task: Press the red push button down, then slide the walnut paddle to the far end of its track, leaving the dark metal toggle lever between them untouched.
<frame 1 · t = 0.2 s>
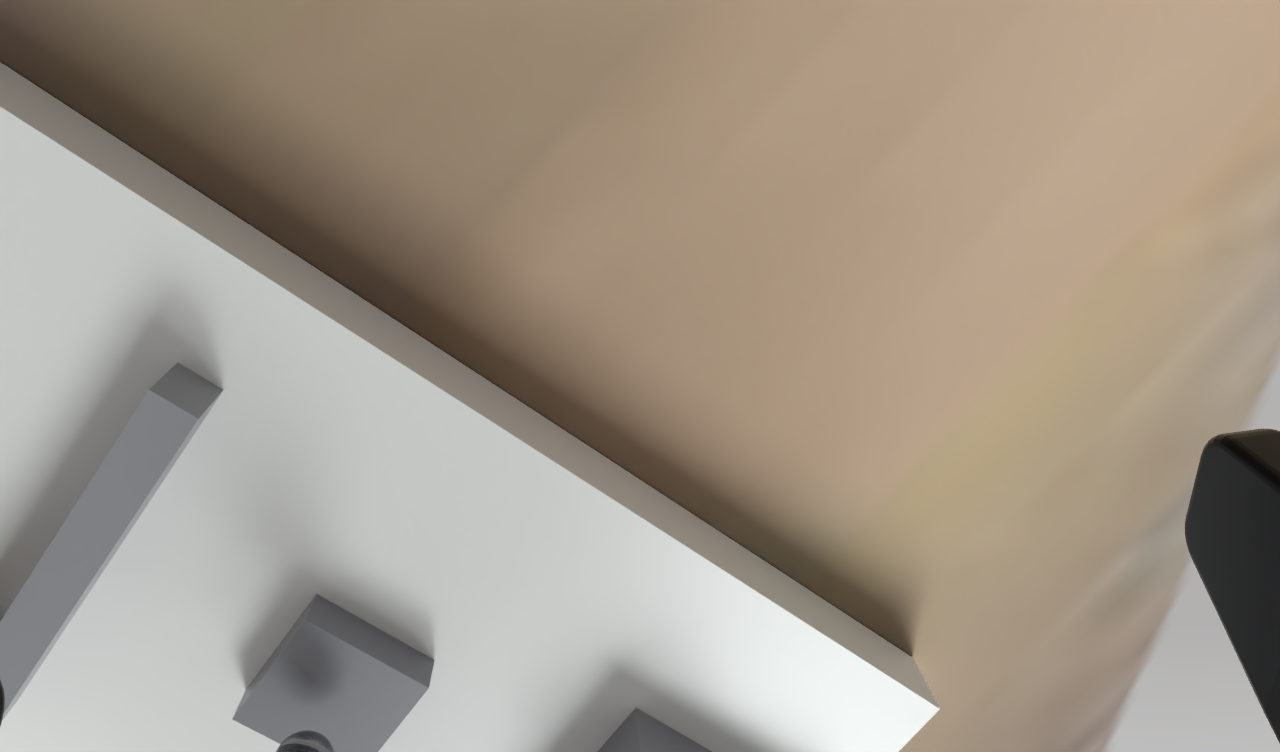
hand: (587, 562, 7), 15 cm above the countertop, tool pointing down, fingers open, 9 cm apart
control panel: (339, 613, 25), on the countertop
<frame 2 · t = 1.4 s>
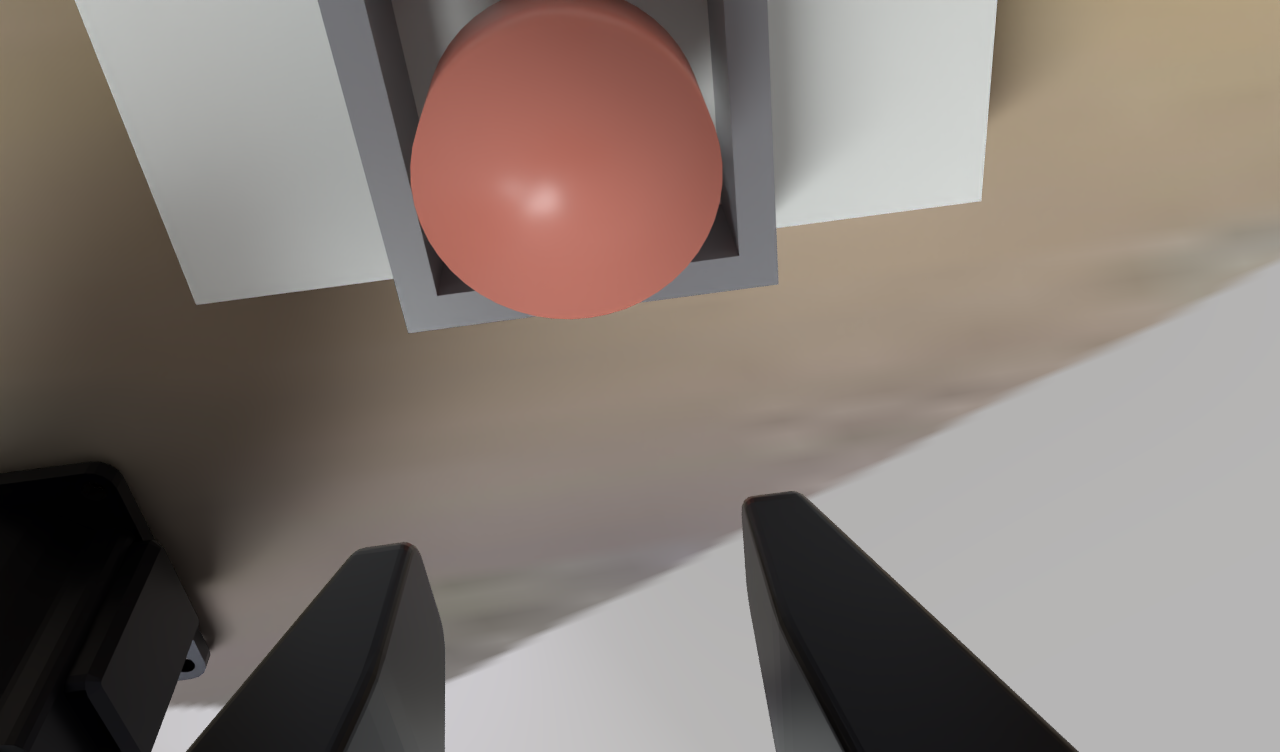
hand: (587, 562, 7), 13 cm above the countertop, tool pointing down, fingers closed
push button: (567, 155, 14), point 5 cm above the countertop, slide at 0.0 cm
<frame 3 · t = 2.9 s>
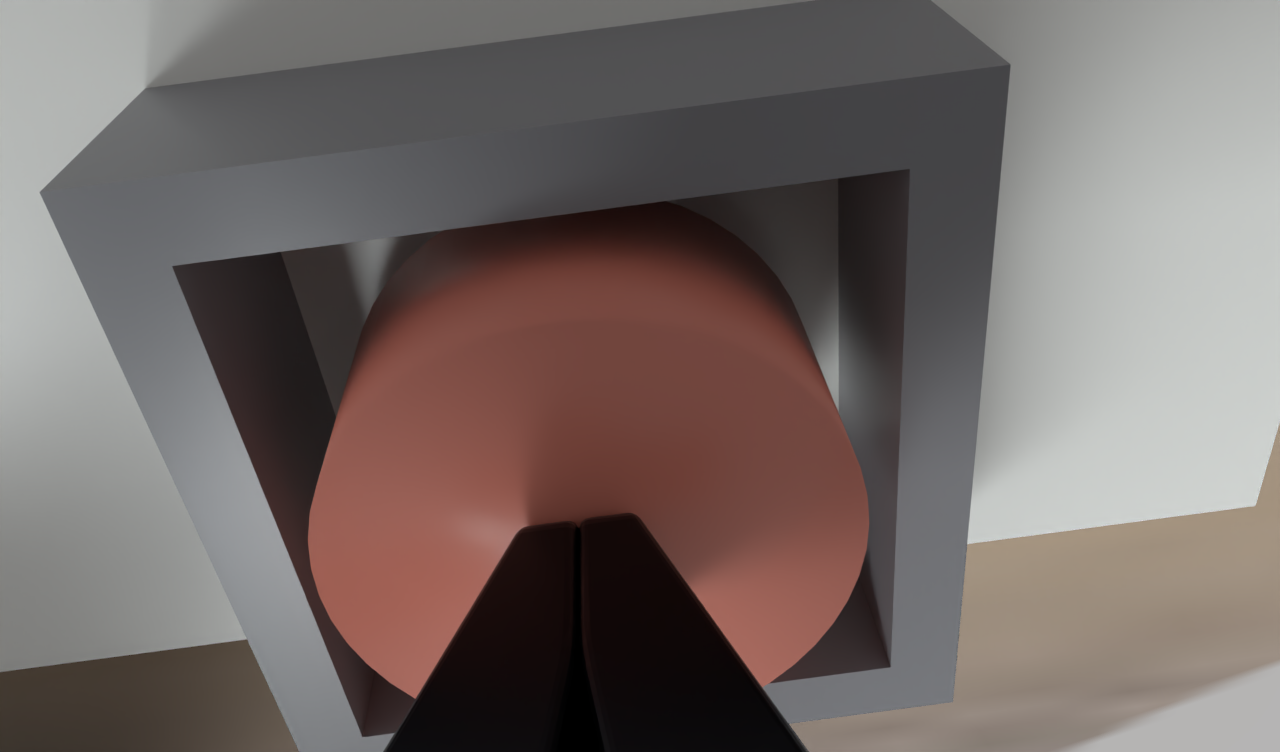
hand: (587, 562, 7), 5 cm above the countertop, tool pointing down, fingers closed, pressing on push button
push button: (589, 472, 8), point 4 cm above the countertop, slide at 1.4 cm, touching gripper
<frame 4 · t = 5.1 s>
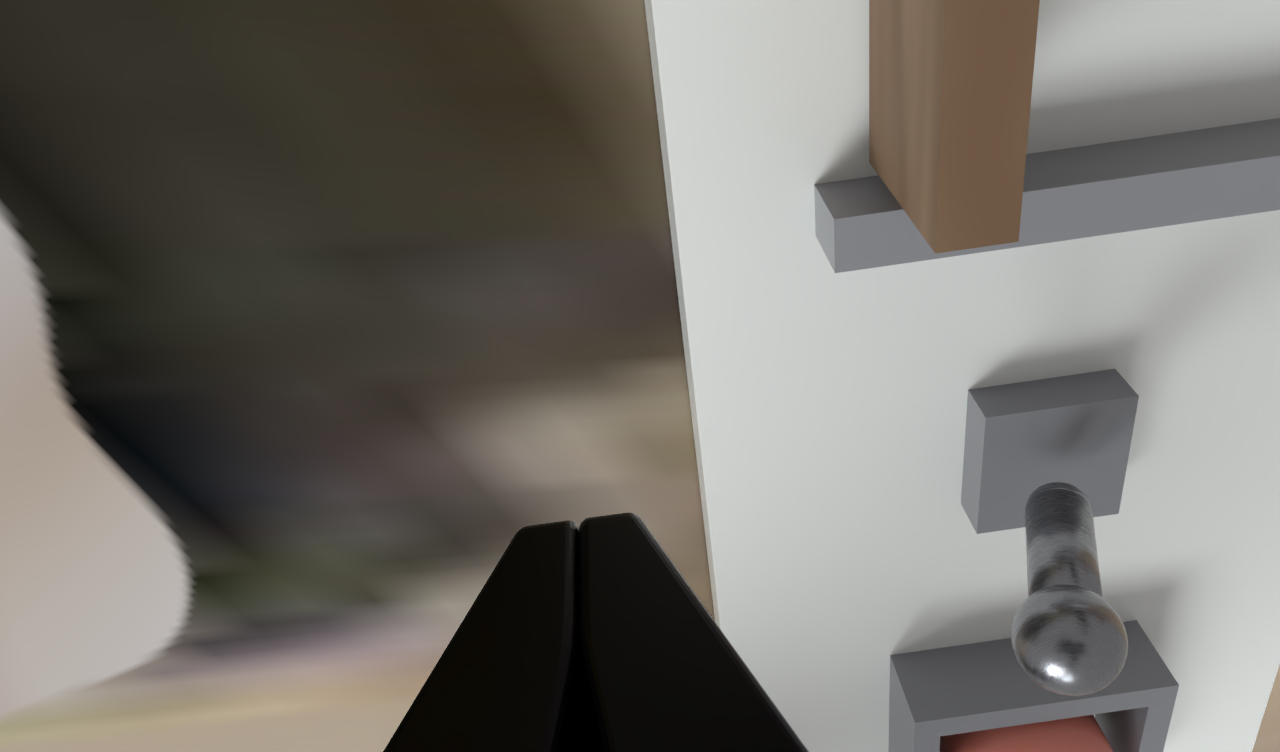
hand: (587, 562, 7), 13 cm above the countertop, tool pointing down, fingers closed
control panel: (1001, 368, 23), on the countertop
toggle lever: (1065, 608, 18), point 7 cm above the countertop, hinge at -20.0°
paddle: (942, 58, 15), point 4 cm above the countertop, slide at 0.0 cm
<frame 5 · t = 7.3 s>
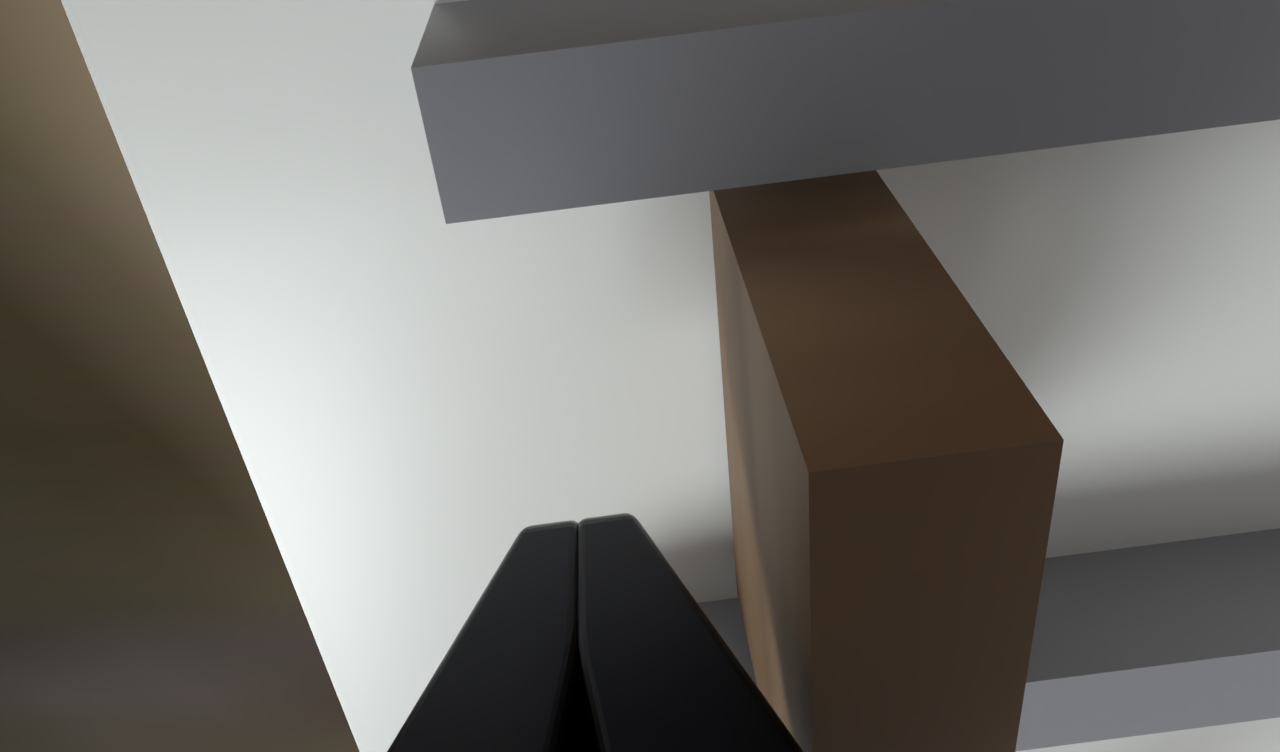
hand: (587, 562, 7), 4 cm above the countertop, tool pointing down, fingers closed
paddle: (841, 542, 8), point 4 cm above the countertop, slide at 0.9 cm, touching gripper
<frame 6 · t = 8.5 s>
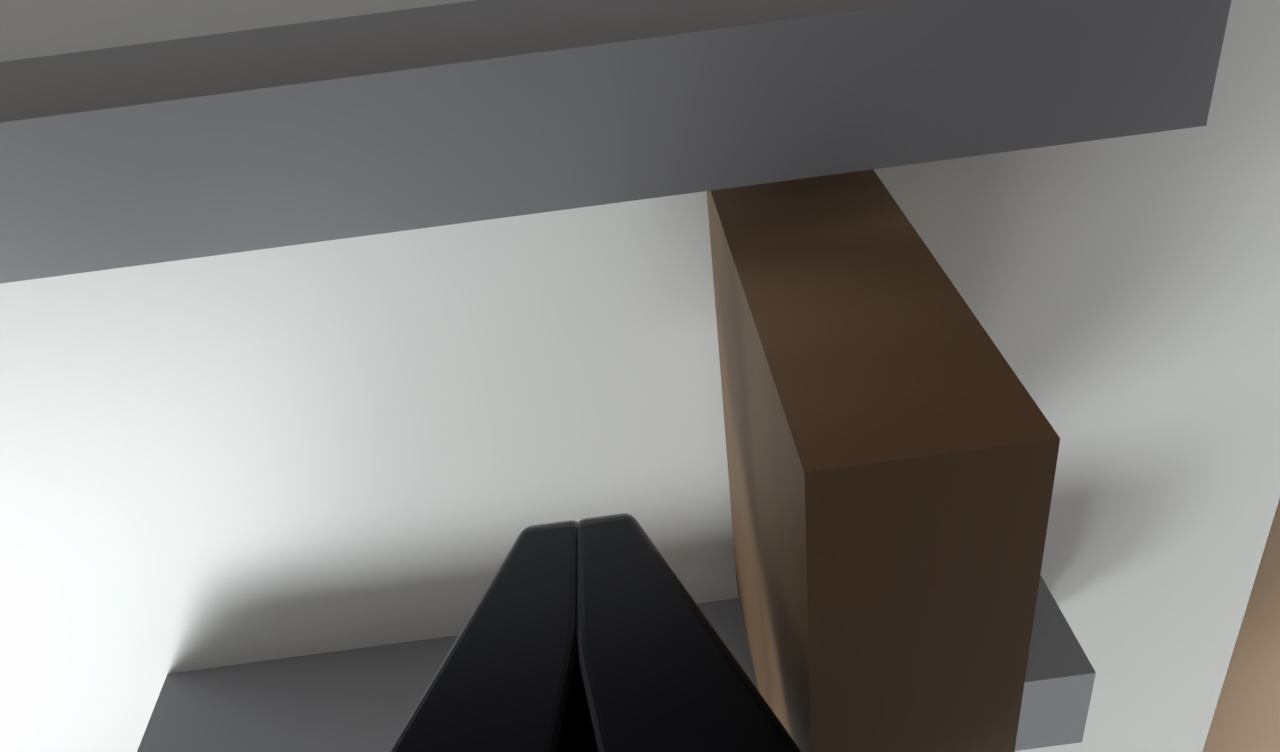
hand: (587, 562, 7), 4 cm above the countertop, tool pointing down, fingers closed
paddle: (840, 542, 8), point 4 cm above the countertop, slide at 5.0 cm, touching gripper
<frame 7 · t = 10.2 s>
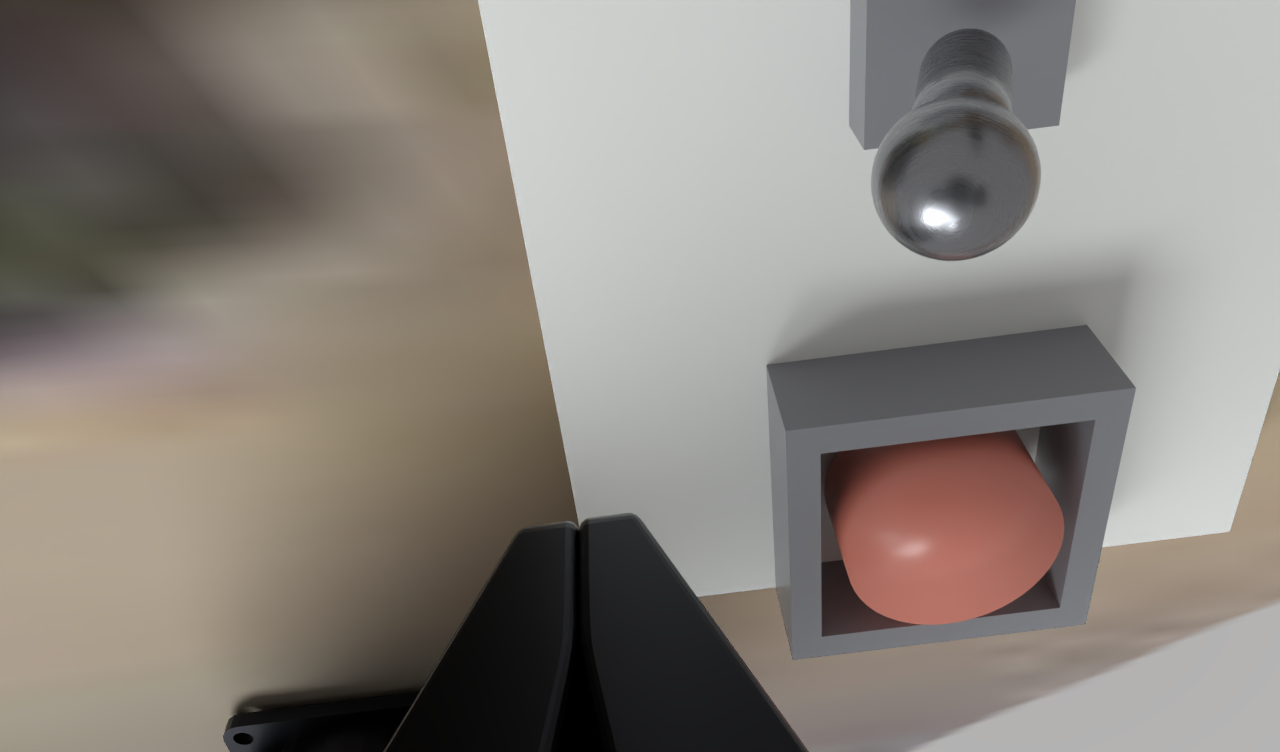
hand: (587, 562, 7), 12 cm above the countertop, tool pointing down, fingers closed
push button: (938, 513, 20), point 3 cm above the countertop, slide at 1.6 cm
toggle lever: (956, 153, 12), point 7 cm above the countertop, hinge at -20.0°
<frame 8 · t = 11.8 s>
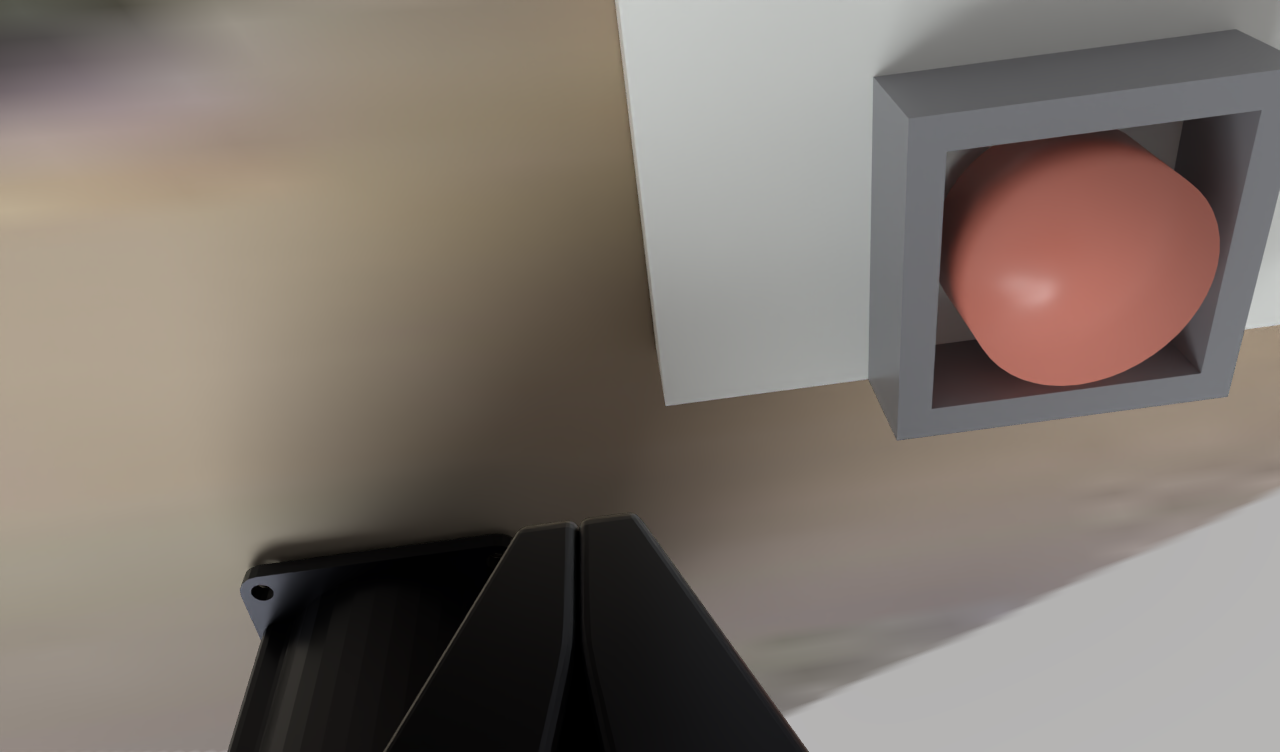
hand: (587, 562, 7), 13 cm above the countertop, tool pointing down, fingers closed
push button: (1068, 254, 17), point 3 cm above the countertop, slide at 1.6 cm
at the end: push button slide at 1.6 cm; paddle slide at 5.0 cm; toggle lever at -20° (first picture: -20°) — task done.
